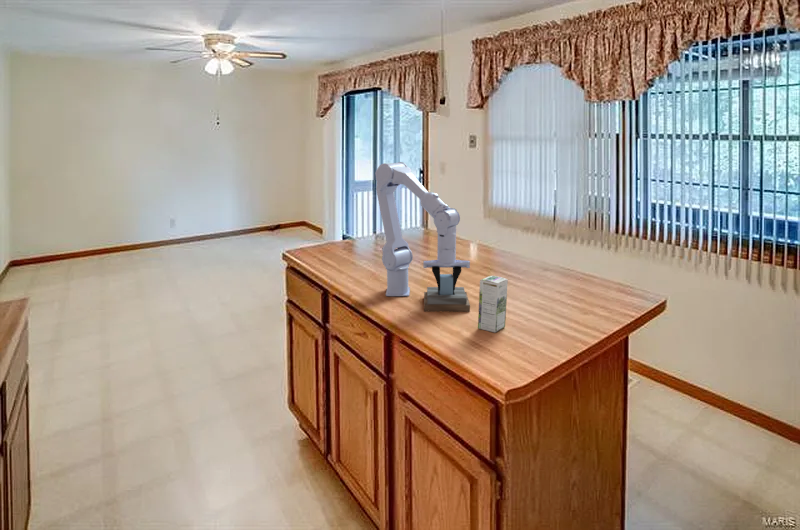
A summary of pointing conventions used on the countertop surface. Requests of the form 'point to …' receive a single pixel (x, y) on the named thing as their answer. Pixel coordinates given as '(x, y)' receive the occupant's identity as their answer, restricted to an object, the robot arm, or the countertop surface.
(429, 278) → the countertop surface
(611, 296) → the countertop surface
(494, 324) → the syrup box
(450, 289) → the blue peg
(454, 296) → the socket block
